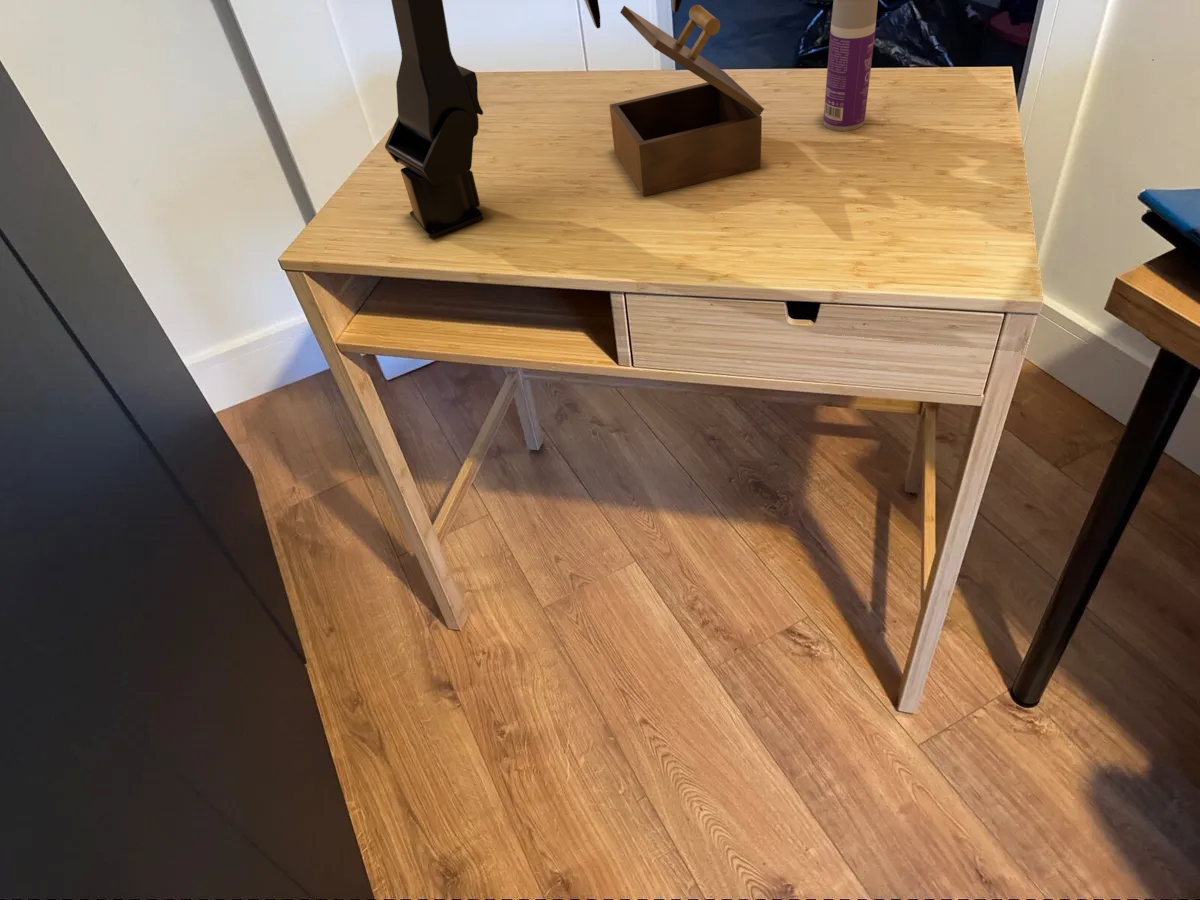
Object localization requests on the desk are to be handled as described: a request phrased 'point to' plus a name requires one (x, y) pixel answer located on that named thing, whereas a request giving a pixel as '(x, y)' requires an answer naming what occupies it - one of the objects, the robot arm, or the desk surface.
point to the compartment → (685, 137)
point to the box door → (693, 51)
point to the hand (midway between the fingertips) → (636, 19)
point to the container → (849, 63)
